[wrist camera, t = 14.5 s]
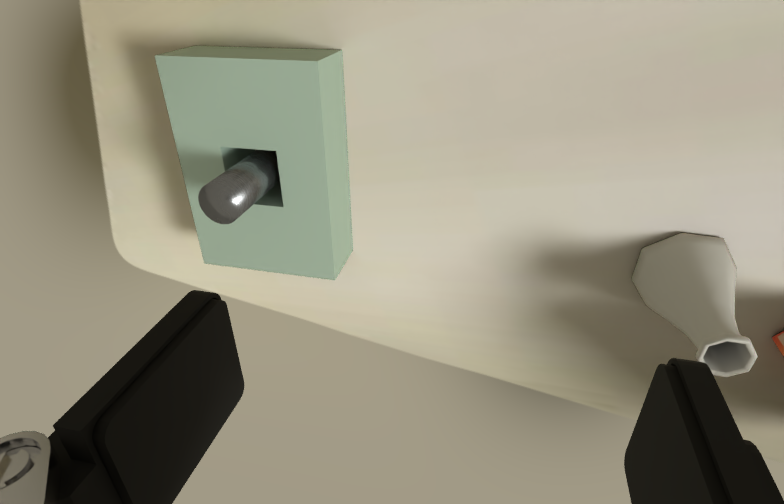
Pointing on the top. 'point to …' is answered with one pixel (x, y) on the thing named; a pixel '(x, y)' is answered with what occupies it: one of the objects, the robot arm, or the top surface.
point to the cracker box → (779, 341)
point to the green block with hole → (266, 132)
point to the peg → (239, 187)
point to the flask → (697, 297)
